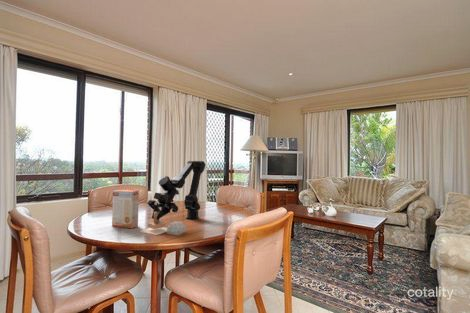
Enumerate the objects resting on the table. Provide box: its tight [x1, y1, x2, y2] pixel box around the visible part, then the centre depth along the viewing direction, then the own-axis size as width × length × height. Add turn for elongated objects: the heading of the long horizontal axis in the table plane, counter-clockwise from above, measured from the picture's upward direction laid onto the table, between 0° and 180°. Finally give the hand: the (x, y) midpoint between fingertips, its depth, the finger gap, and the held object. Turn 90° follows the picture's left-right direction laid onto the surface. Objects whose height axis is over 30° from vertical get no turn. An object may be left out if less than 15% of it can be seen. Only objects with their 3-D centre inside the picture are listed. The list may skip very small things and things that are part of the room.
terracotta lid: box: [147, 211, 166, 229], centre depth 138 cm, size 7×7×8 cm
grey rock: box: [166, 220, 187, 236], centre depth 135 cm, size 7×7×6 cm
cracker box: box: [111, 189, 140, 229], centre depth 145 cm, size 14×6×21 cm, turn 71°
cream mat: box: [139, 227, 167, 236], centre depth 138 cm, size 12×12×1 cm
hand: (154, 218), depth 136 cm, fingers closed on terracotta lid, 3 cm apart
